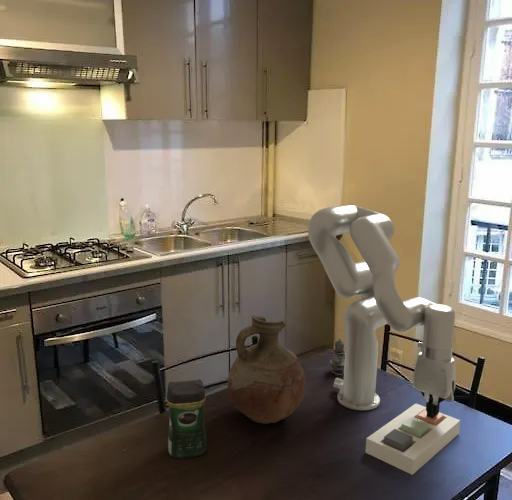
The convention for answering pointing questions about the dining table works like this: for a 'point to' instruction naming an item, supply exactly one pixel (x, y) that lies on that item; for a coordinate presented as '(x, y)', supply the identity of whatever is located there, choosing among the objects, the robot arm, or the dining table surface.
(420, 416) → the terracotta button
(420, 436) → the sage button
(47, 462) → the dining table surface
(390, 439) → the charcoal button
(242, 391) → the jug
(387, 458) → the button panel
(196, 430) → the coffee jar
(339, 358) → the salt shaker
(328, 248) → the robot arm
